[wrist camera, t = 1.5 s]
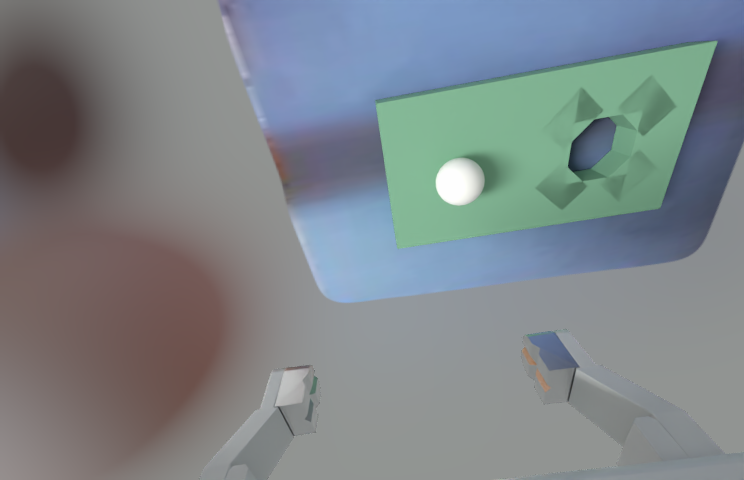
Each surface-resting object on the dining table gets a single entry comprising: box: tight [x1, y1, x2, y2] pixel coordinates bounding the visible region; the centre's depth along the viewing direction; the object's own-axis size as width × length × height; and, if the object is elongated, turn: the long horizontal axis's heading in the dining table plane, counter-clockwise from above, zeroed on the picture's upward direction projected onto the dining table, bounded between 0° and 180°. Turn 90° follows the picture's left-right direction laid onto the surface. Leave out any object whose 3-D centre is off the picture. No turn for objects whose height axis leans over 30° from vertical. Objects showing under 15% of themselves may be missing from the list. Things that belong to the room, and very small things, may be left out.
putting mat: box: [375, 41, 717, 249], centre depth 28 cm, size 14×26×2 cm, turn 99°
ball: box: [436, 158, 485, 206], centre depth 26 cm, size 4×4×4 cm
